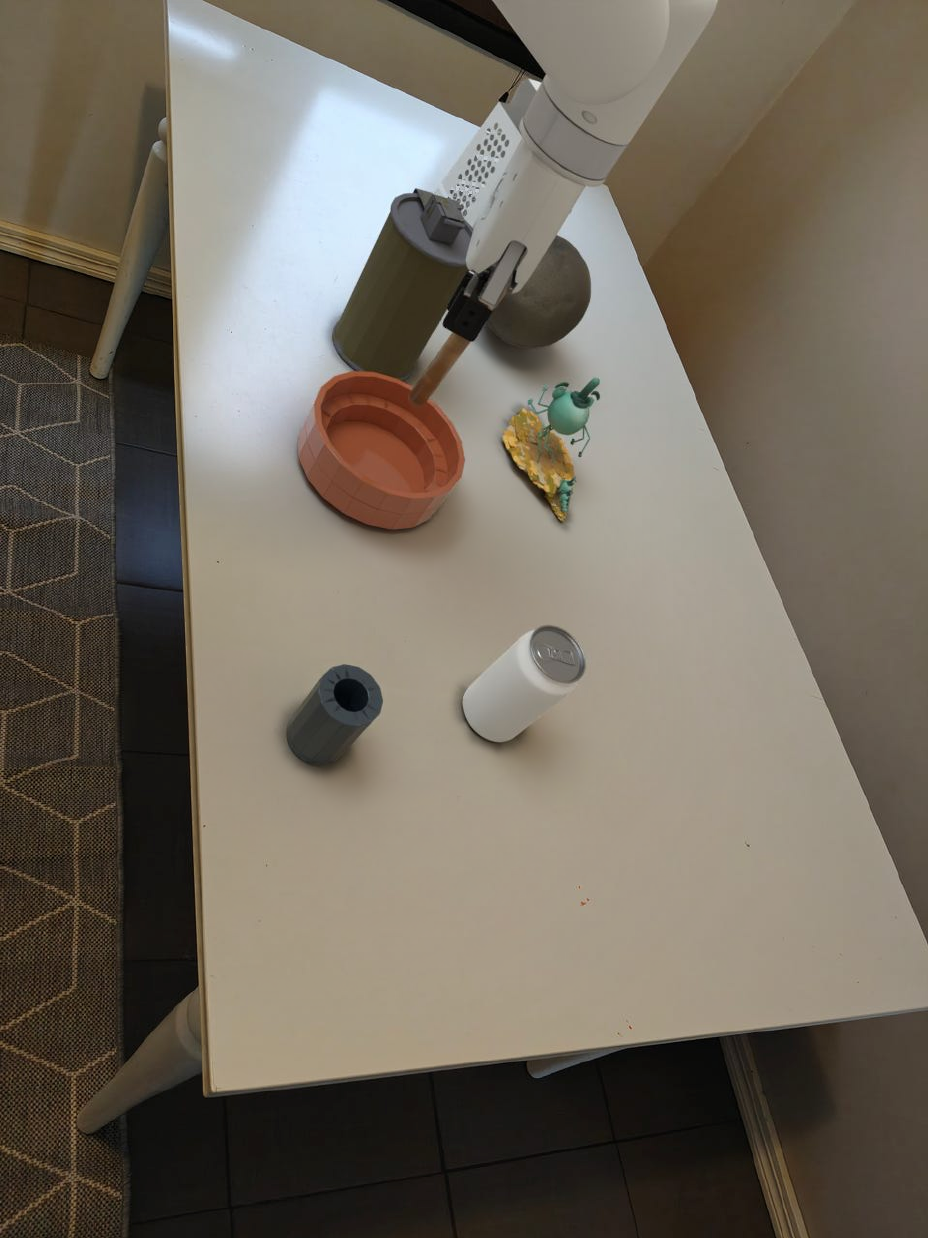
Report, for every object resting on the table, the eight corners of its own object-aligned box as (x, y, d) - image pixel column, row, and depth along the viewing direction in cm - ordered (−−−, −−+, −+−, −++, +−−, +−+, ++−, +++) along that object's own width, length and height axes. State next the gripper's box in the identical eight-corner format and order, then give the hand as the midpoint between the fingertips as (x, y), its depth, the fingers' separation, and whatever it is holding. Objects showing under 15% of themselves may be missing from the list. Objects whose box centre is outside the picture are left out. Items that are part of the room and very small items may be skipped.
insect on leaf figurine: (508, 510, 98) (576, 412, 88) (485, 410, 109) (543, 313, 99) (578, 529, 102) (651, 437, 92) (549, 431, 113) (611, 339, 103)
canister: (423, 388, 102) (507, 251, 87) (343, 377, 96) (419, 228, 82) (399, 322, 106) (475, 182, 92) (321, 308, 101) (389, 155, 86)
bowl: (275, 488, 83) (295, 448, 79) (317, 387, 93) (337, 346, 89) (425, 557, 88) (451, 523, 83) (449, 454, 98) (474, 418, 94)
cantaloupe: (459, 284, 117) (514, 189, 106) (547, 326, 122) (608, 240, 111) (456, 349, 109) (515, 254, 98) (550, 392, 114) (616, 305, 103)
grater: (463, 242, 123) (535, 112, 109) (434, 192, 127) (500, 60, 112) (517, 249, 130) (593, 128, 115) (488, 202, 133) (558, 78, 119)
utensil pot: (278, 753, 69) (311, 711, 63) (295, 699, 72) (328, 654, 66) (337, 775, 71) (374, 736, 65) (351, 720, 74) (388, 679, 68)
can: (457, 677, 82) (521, 614, 73) (515, 687, 84) (584, 627, 76) (463, 739, 78) (531, 681, 70) (523, 748, 81) (596, 692, 72)
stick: (403, 405, 82) (491, 280, 71) (406, 393, 84) (494, 269, 72) (419, 414, 83) (509, 292, 72) (422, 402, 84) (511, 281, 73)
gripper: (539, 64, 66) (436, 257, 80) (517, 153, 56) (405, 356, 70) (619, 117, 68) (506, 297, 82) (612, 212, 58) (485, 398, 72)
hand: (460, 323), depth 76 cm, fingers closed on stick, 1 cm apart
